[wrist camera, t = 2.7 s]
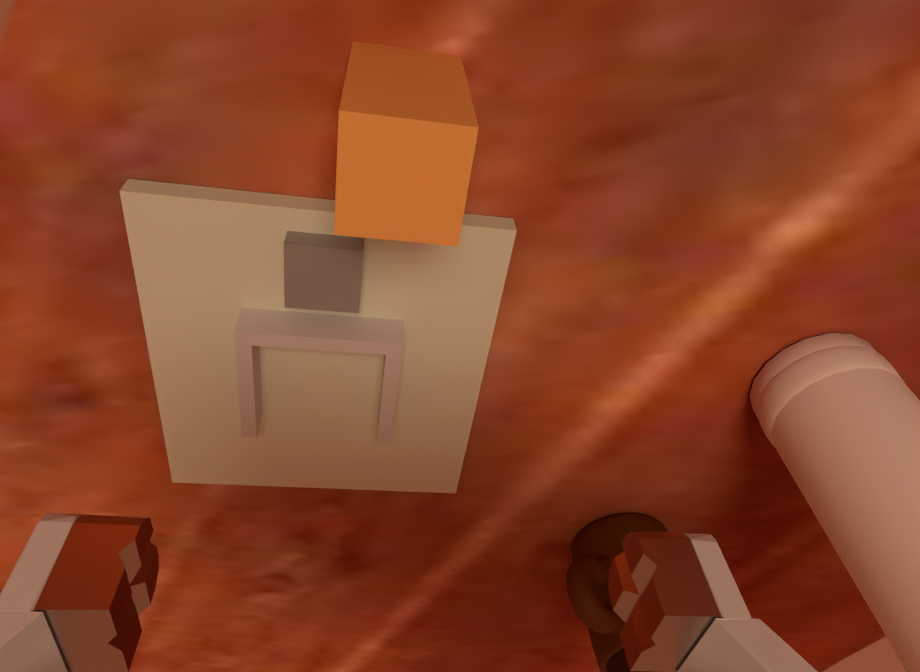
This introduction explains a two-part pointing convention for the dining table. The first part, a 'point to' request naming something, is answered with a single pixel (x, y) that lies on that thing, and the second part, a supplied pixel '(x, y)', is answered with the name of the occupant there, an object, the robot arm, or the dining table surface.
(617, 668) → the mug
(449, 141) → the orange rectangular block
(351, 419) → the mount deck
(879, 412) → the bottle
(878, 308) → the dining table surface
